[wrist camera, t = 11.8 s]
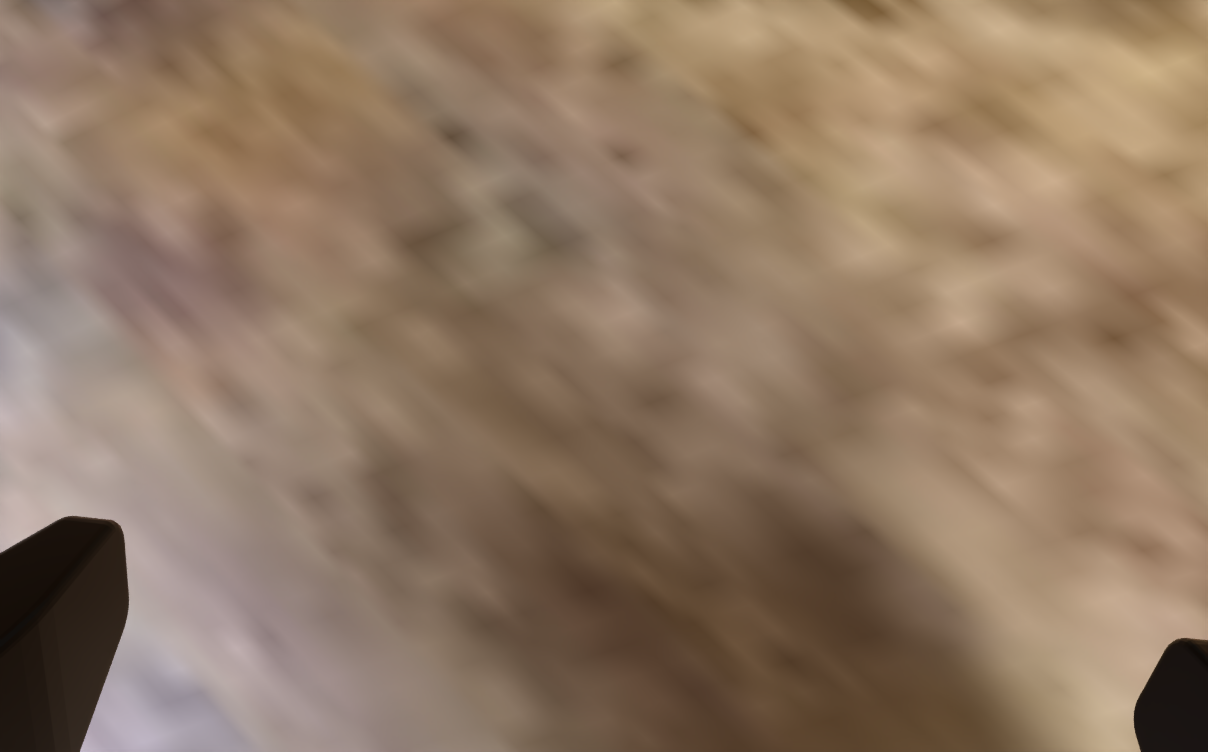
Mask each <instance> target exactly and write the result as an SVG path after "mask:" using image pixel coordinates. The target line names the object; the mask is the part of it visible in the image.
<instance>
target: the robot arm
mask: <svg viewBox="0 0 1208 752" xmlns="http://www.w3.org/2000/svg"><path fill="white" fill-rule="evenodd" d="M128 608H129V592H128V579H127V567H126V554H125V541H124V534H123V531H122V529H121V526H120V525H119V524H117V523H116V522H115V521H113V520H106V519H97V518H88V517H79V516H67V517H64V518H61V519H59V520H57V521H55V522H54V523H52V524H50V525H48V526H47V527H45V528H43V529H41V530H40V531H38V532H36V533H34V534H33V535H31V536H29V537H27V538H26V539H24V540H22V541H20V542H19V543H17V544H15V545H13V546H12V547H10V548H8V549H7V550H5V551H3V552H1V553H0V752H80V750H81V747H82V744H83V741H84V738H85V736H86V733H87V730H88V727H89V725H90V722H91V719H92V716H93V714H94V711H95V708H96V705H97V702H98V700H99V697H100V694H101V691H102V689H103V686H104V683H105V680H106V678H107V675H108V672H109V669H110V666H111V664H112V661H113V658H114V655H115V653H116V650H117V647H118V644H119V641H120V639H121V636H122V633H123V630H124V627H125V624H126V619H127V614H128ZM1134 728H1135V733H1136V737H1137V740H1138V744H1139V747H1140V750H1141V752H1208V640H1200V639H1190V638H1181V639H1176V640H1175V641H1173V642H1172V643H1171V644H1169V645H1168V647H1167V648H1166V649H1165V651H1164V653H1163V655H1162V656H1161V658H1160V660H1159V662H1158V664H1157V665H1156V667H1155V669H1154V671H1153V673H1152V674H1151V676H1150V678H1149V680H1148V682H1147V684H1146V685H1145V687H1144V689H1143V691H1142V693H1141V694H1140V696H1139V698H1138V700H1137V702H1136V706H1135V710H1134Z"/></svg>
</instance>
